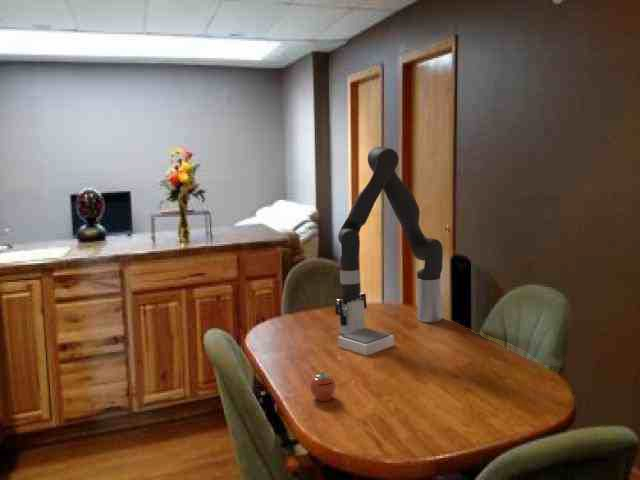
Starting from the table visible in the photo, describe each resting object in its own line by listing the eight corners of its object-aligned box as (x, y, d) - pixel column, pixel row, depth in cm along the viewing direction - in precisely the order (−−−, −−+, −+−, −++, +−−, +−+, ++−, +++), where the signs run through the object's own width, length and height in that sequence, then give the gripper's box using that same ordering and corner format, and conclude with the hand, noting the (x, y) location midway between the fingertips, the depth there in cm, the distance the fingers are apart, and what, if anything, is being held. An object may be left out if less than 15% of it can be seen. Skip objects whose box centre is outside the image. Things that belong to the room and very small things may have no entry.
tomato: (314, 405, 157) (312, 377, 156) (307, 395, 164) (305, 368, 163) (339, 401, 159) (338, 373, 158) (331, 391, 166) (330, 364, 165)
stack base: (365, 337, 214) (365, 326, 213) (393, 345, 204) (393, 334, 203) (338, 346, 205) (337, 335, 204) (366, 355, 195) (366, 344, 194)
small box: (365, 333, 218) (364, 300, 216) (353, 337, 214) (351, 303, 212) (351, 329, 224) (349, 296, 223) (338, 333, 220) (337, 300, 219)
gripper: (356, 276, 224) (357, 317, 226) (329, 283, 214) (331, 325, 217) (370, 279, 218) (371, 320, 221) (343, 286, 209) (345, 329, 211)
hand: (351, 322), depth 219 cm, fingers open, 8 cm apart
